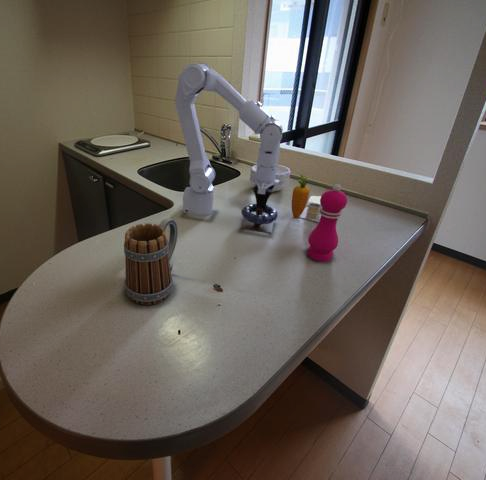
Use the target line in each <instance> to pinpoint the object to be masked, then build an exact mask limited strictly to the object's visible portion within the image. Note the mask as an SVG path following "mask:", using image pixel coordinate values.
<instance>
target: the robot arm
mask: <svg viewBox="0 0 486 480" xmlns="http://www.w3.org/2000/svg"><path fill="white" fill-rule="evenodd" d="M177 81H178V83H177V87H176V91H175V96H174V105H175V108H176V113H177V117H178V120H179V124H180V128H181V131H182V136H183V139H184V144H185V147H186V151H187V156H188V159H189V171H188V172H189V183H188V184H189V186H187V187H185V188H184V190H183V194H182V213H183V214H189V215H194V216H197V217H207V216H210V215H212V214H213V209H214V193H215V192H214V189H215V188H214V186H213V181H214V180H215V178H216V171H215V169H214V168H213V167H212V165H211V162H210V160H209V158H208V157H207V154H206V150H205V145H204V141H203V136H202V132H201V127H200V124H199V120H198V115H197V111H196V106H195V102H196V100H197V98H199V96H200V93H202V91H204V92H213V93H216V94H217V95H219V96H220V97H221V98H222V99H224V100H225V101H226V102H227V103H228V104H230V105H231V106H232V107H233V108H235V109H236V110H237V111H238V118H239V119H240V121H242V122H243V123H244V124H245V125H246V126H248V128H249V129H251V131H253V132H254V133H255V134H257V135H259V139H260V146H259V148H258V156H257V163H256V165H257V170H256V178H255V183H256V186H255V185H254V186H253V189H252V191H253V194H254V196H255V202H256V203H255V204H257V208H258V207H261V208H263V210H264V209H265V206H266V205H267V204H268V200H269V198H270V196H271V195H272V194H273V192H274V191H273V190H272V189H273V188H274V185H275V184H278V183H279V180H276V179H275V177H276V170H277V165H279V164H278V163H279V157H280V151H281V150H280V147H281V141H282V139H283V131H284V130H283V125H282V123H281V122H280V121H279V119H276V118H275V116H274V115H273V114H271V115H270V114H269V113H268V112H267V111H266V110H265V109H263V108H262V105H263V104H262V103H261V101H257V102H256V101H255V100H246V99H245V98H244V97H243V95H241V93H239V92H238V90H236V89H235V88H234V87H233V86H232V85H231V84H230V83H229V82H228V81H227V80H226V79H225V78H224V77H223V76H222V75H221V74H220V73H218V72H217V71H216V70H215V69H213V68H211V67H210V66H209V65H208V63H205V62H197V63H195V62H192V63H188V64H187V65H185V66H184V68H183V69H182V70H181V72H180V74H179V76H178V78H177Z"/></svg>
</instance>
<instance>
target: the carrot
mask: <svg viewBox="0 0 486 480" xmlns="http://www.w3.org/2000/svg"><path fill="white" fill-rule="evenodd" d="M309 181H310V179H309V177H308V176H305V178H304V173H300V179H297V182H298V183H299V185H295V187H293V191H292V194H291V195H292V196H291V213H292V216H293V219H295V220H298V219H299V218H301V217H300V215H301V214H302V213H303V211H304V209H305V208H306V207H307V204H308V202H309V201H308V200H309V198H310V194H311V193H310V192H311V189H310V187H308V186H307V184H308V183H309Z"/></svg>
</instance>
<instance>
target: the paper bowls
mask: <svg viewBox="0 0 486 480" xmlns="http://www.w3.org/2000/svg"><path fill="white" fill-rule="evenodd" d="M256 170H257V164H255V165H252V166H251V167H250V174H249V180H250V182H252V184H254V186H255V187H256V183H255V178H256ZM290 177H291V168H289V167H287V166H284V165H281V164H277V170H276V177H275V179H276V180H279V183H278V184H275V185H274V188H273V189H272V190H273V192H278V191H280V190H282V188H283V187H284V186H286V185H288V184H289V183H290Z"/></svg>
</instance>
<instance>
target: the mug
mask: <svg viewBox="0 0 486 480" xmlns="http://www.w3.org/2000/svg"><path fill="white" fill-rule="evenodd" d="M167 228H169V238H168V237H167V233H166V230H167ZM178 230H179V229H178V224H177V222H176V220H175V219H172V218H169V217H165V218H163V219H161V221H160V222H159V223H158V224H156V223H154V224H152V223H149V222H148V223H147V222H146V223H144V224H143V223H138V224H136V225H135V226H134V225H132V226H131V227H129V228H128V230H126V231H125V233H124V243H123V253H124V258H125V261H124V262H125V263H124V264H125V265H124V267H125V280H124V290H125V293H126V294H125V295H126V296H127V298H128V299H130V301H132V302H134V303H136V304H140V305H145V306H148V305H151V306H152V305H156V304H159V303H161V302H163V301H165V300H166V299H168V298H169V297H170V296H171V294H172V292H173V287H174V283H173V276H172V273H171V272H172V270H173V266H174V265H173V264H171V263H170V262H171V261H170V260H171V259H172V257H173V254H174V252H175V250H176V245H177V241H178V233H179V232H178Z"/></svg>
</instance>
